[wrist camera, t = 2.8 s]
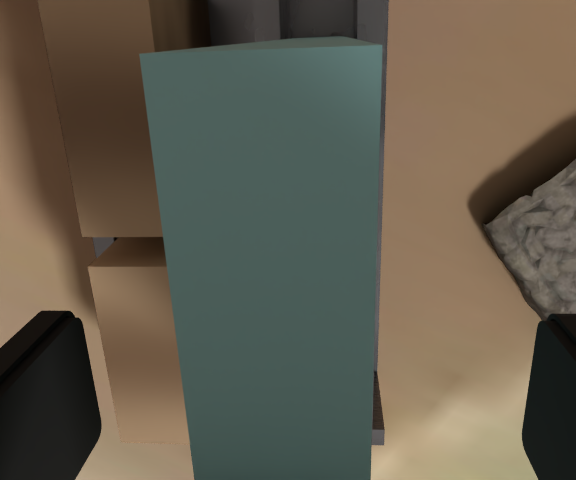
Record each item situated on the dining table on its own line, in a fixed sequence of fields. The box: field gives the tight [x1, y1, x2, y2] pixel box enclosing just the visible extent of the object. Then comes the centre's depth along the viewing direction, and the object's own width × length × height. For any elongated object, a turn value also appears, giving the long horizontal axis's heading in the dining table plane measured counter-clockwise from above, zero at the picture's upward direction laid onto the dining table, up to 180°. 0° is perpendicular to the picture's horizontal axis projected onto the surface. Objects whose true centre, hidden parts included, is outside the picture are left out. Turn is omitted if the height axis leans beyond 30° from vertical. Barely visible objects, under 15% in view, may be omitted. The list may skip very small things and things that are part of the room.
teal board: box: [139, 36, 382, 480], centre depth 14 cm, size 12×2×18 cm, turn 2°
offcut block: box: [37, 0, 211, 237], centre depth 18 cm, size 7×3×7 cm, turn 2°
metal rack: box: [92, 0, 389, 445], centre depth 21 cm, size 20×11×5 cm, turn 2°
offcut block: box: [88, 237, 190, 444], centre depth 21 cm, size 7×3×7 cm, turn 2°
